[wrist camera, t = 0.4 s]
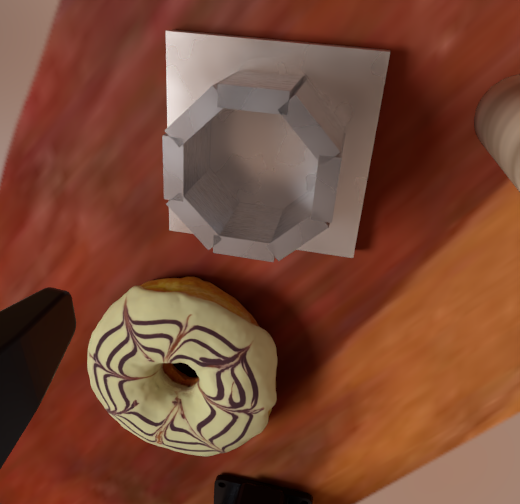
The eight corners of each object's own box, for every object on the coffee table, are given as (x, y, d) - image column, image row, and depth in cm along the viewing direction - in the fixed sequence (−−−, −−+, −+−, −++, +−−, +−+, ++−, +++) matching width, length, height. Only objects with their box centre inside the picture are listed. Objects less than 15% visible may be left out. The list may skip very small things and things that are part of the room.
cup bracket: (353, 250, 24) (350, 300, 20) (174, 223, 25) (138, 266, 21) (389, 49, 20) (395, 63, 16) (172, 29, 21) (126, 37, 17)
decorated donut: (305, 302, 26) (296, 346, 23) (258, 437, 31) (246, 489, 28) (119, 244, 26) (84, 279, 23) (103, 386, 32) (73, 431, 28)
